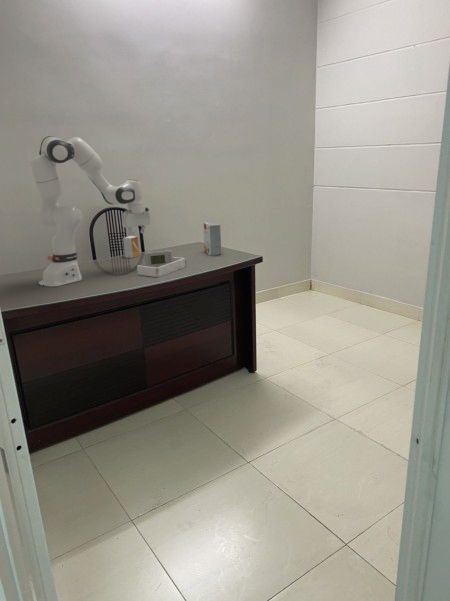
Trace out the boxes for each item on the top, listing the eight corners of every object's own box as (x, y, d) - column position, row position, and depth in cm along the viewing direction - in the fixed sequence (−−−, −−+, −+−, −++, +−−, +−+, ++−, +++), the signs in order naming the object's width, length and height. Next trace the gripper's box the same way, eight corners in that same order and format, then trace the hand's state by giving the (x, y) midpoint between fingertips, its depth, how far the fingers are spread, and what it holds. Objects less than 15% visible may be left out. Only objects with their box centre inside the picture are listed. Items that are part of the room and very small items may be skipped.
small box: (133, 258, 275) (131, 238, 270) (124, 257, 277) (122, 237, 273) (139, 255, 282) (137, 236, 278) (131, 255, 284) (129, 235, 280)
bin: (158, 277, 227) (157, 268, 225) (137, 274, 234) (137, 265, 232) (186, 266, 249) (185, 258, 247) (166, 264, 255) (166, 256, 254)
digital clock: (145, 272, 238) (144, 253, 235) (146, 268, 247) (144, 250, 243) (174, 270, 240) (173, 252, 237) (174, 267, 248) (173, 249, 245)
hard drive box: (204, 251, 289) (203, 222, 283) (215, 250, 291) (214, 221, 285) (210, 256, 275) (209, 225, 269) (221, 255, 277) (220, 224, 271)
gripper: (127, 211, 228) (129, 236, 232) (151, 208, 245) (152, 232, 249) (118, 210, 231) (120, 236, 235) (142, 208, 248) (144, 231, 252)
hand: (137, 234), depth 242 cm, fingers open, 8 cm apart
